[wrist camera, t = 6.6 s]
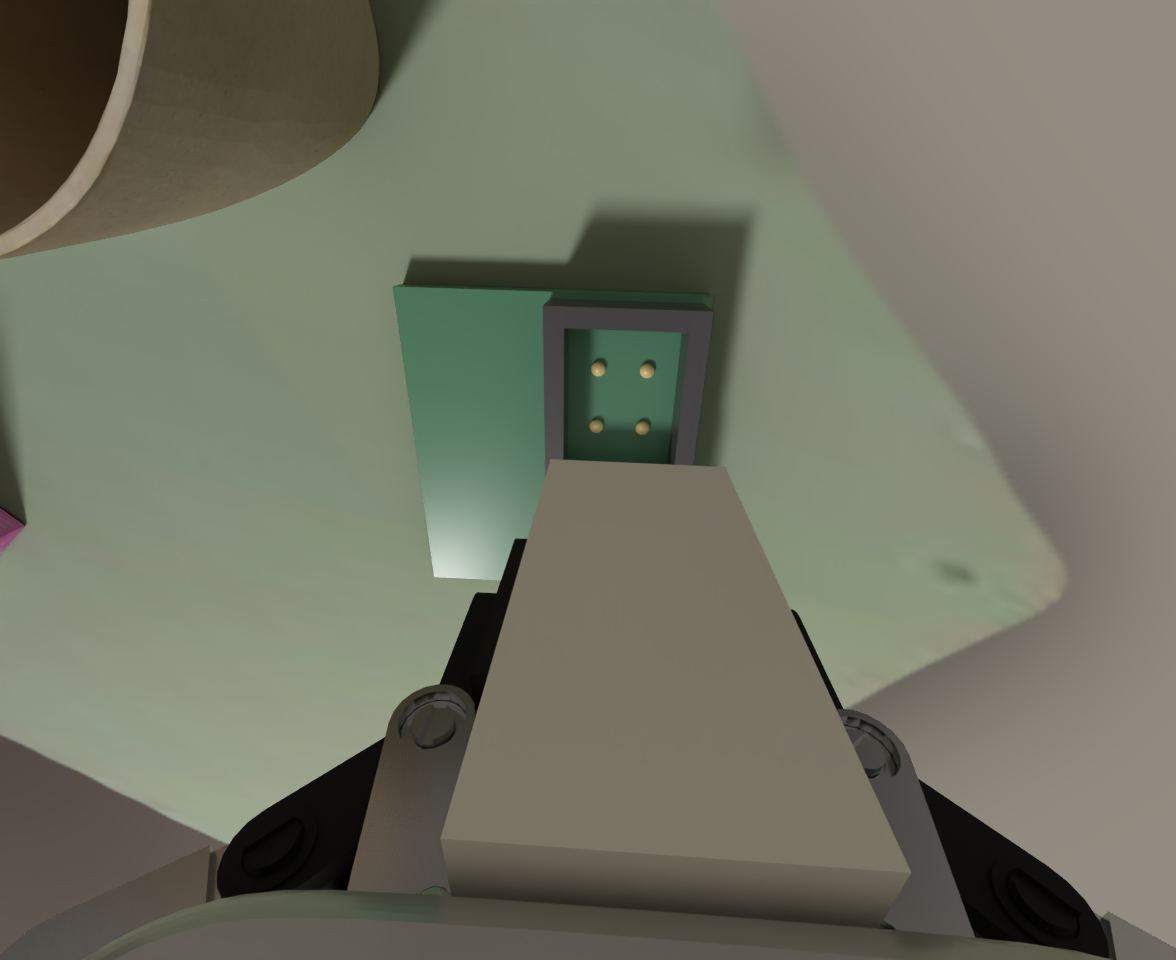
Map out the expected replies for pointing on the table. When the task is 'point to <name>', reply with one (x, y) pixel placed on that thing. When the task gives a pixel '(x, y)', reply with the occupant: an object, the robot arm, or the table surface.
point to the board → (539, 399)
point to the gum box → (8, 529)
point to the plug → (662, 722)
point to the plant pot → (168, 108)
